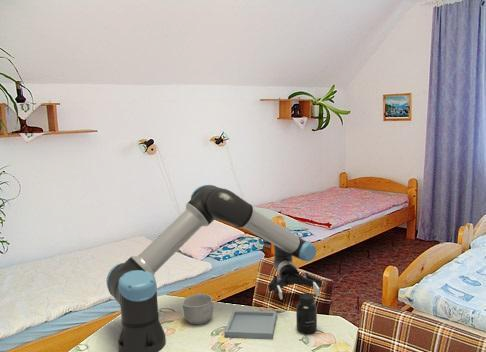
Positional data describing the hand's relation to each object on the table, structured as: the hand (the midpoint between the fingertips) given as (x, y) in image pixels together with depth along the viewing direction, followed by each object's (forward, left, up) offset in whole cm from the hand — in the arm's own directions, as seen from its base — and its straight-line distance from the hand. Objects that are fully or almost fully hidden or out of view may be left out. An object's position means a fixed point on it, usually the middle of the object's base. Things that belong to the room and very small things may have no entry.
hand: (300, 294), depth 157 cm
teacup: (-37, -4, -9) cm, 38 cm away
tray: (-17, -9, -9) cm, 21 cm away
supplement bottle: (+2, -10, -9) cm, 13 cm away
